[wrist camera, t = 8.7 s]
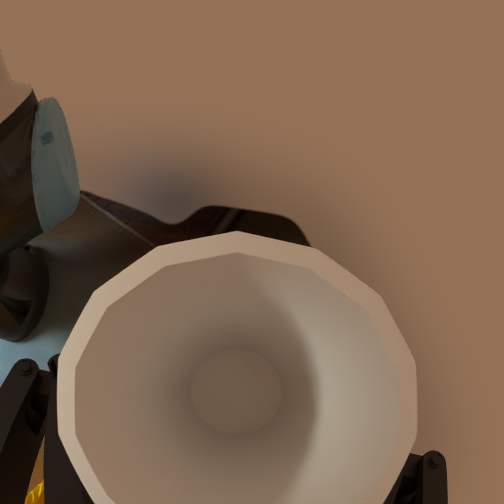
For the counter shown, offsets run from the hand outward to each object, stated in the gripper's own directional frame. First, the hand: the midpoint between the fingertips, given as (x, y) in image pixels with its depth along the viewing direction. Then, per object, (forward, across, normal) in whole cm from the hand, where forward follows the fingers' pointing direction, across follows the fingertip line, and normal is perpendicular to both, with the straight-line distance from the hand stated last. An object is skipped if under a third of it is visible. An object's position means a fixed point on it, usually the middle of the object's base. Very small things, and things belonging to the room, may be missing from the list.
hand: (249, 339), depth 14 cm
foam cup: (+1, 0, -6) cm, 6 cm away
